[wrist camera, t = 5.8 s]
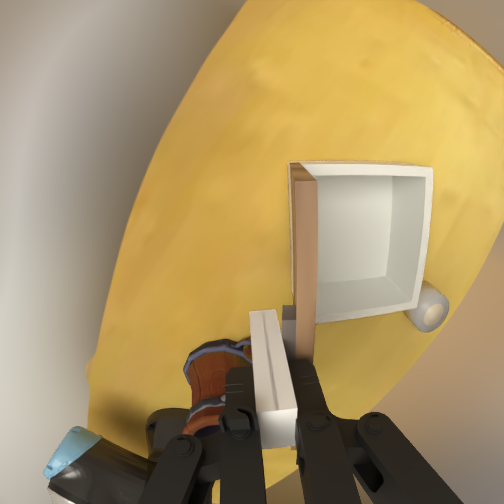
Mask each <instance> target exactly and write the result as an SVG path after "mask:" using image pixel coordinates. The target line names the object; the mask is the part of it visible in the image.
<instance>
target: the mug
mask: <svg viewBox="0 0 504 504" xmlns="http://www.w3.org/2000/svg"><path fill="white" fill-rule="evenodd" d="M243 366H253V360H252V346H251V336H250V337H249V338H247V339H246V340H245V341H241V342H239V343H236V342H233V341H229V340H226V339H223V340H218V341H214V342H208V343H204V344H203V345H202V346H200V347H199V348H197V349H196V350H194V351H193V352H191V353H190V354H189V356H188V358H187V361H186V363H185V365H184V368H183V372H184V374H185V376H186V378H187V381H188V383H189V385H190V386H191V389H192V407H191V408H190V410H189V412H188V415H187V417H186V422H187V424H186V426H185V427H184V430H183V432H182V434H190V435H192V436H195V437H197V438H201V437H205V436H208V435H211V434H213V433H215V432H217V431H218V430H219V429H220V425H219V422H218V418H219V415H220V414H221V413H222V411H223V410H224V409H225V394H226V392H225V390H226V375H227V373H228V371H229V370H230V368H231V367H243Z"/></svg>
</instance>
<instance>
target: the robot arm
mask: <svg viewBox="0 0 504 504" xmlns="http://www.w3.org/2000/svg"><path fill="white" fill-rule="evenodd" d="M249 317H250V331H251V346H252V360H253V366H243V367H231V368H230V370H229V371H228V373H227V375H226V390H225V392H226V394H225V409H224V410H223V411H222V413H221V414H220V415H219V418H218V422H219V425H220V429H219V430H218V431H217V432H215V433H213V434H211V435H208V436H205V437H201V438H197V437H195V436H192V435H190V434H182V432H183V430H184V427H185V426H186V424H187V422H186V417H187V415H188V412H189V410H186V409H177V408H169V409H162V410H158V411H156V412H154V413H152V414H151V415H150V416H149V418H148V421H147V424H146V438H147V445H148V451H149V456H148V459H146V458H144V457H142V456H139V455H137V454H135V453H132V452H130V451H128V450H126V449H124V448H122V447H120V446H118V445H116V444H114V443H112V442H110V441H108V440H106V439H104V438H103V436H101V435H97V434H95V433H93V432H91V431H89V430H87V429H85V428H83V427H80V426H76V427H73V428H72V429H70V431H69V432H68V433H67V435H66V436H65V438H64V439H63V441H62V442H61V444H60V445H59V447H58V448H57V450H56V452H55V453H54V454H53V456H52V458H51V459H50V461H49V463H48V464H47V466H46V468H45V469H44V471H43V474H44V476H46V478H47V479H50V483H49V485H48V488H47V489H48V491H49V493H50V495H51V497H52V499H53V504H212V488H213V485H214V482H215V480H219V479H220V504H267V501H266V490H265V478H264V466H263V457H262V449H270V448H280V447H288V446H295V443H296V448H297V460H296V465H298V466H299V472H300V477H301V483H302V488H303V494H304V500H305V504H362V503H361V500H360V496H359V493H358V490H357V487H356V483H355V480H354V476H353V474H354V475H355V477H356V478H357V480H358V481H359V483H360V484H361V486H362V487H363V489H364V490H365V492H366V493H367V494H368V496H369V497H370V499H371V500H372V502H373V503H374V504H464V503H463V502H462V501H461V500H460V499H459V498H458V497H457V495H456V494H455V493H454V492H453V491H452V490H451V489H450V487H449V486H448V485H447V484H446V483H445V482H444V481H443V480H442V478H441V477H440V476H439V475H438V474H437V473H436V471H435V470H434V469H433V468H432V467H431V466H430V464H429V463H428V462H427V461H426V460H425V459H424V458H423V457H422V455H421V454H420V453H419V452H418V451H417V450H416V448H415V447H414V446H413V445H412V444H411V443H410V441H409V440H408V439H407V438H406V437H405V436H404V435H403V433H402V432H401V431H400V430H399V429H398V428H397V426H396V425H395V424H394V423H393V422H392V421H391V420H390V418H389V417H387V416H386V415H385V414H382V413H379V412H371V413H367V414H365V415H363V416H362V417H361V418H360V419H359V420H353V419H342V418H339V417H336V416H335V415H333V414H332V413H331V412H330V411H329V409H328V407H327V405H326V401H325V398H324V395H323V392H322V389H321V386H320V383H319V379H318V376H317V373H316V370H315V367H314V365H313V364H312V363H311V362H310V361H309V360H308V359H303V360H296V361H288V362H287V358H286V353H285V349H284V344H283V340H282V335H281V331H280V326H279V322H278V317H277V313H276V309H270V310H260V311H249ZM352 472H353V473H352Z"/></svg>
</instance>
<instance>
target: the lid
mask: <svg viewBox="0 0 504 504" xmlns="http://www.w3.org/2000/svg"><path fill="white" fill-rule="evenodd" d="M290 179H291V203H292V235H293V305H283V313H282V340H283V344H284V349H285V353H286V358H287V362H288V361H296V360H303V359H308V360H309V361H310V362H311V363H312V364H313V354H314V340H315V323H316V303H317V274H318V186H317V180H316V179H315V178H314V177H313V176H312V175H311V174H310V173H309V172H308V171H307V170H306V169H305V168H304V167H303V166H302V165H301V164H300V163H299V162H298V163H290ZM291 450H297V448H296V443H295V446H291Z"/></svg>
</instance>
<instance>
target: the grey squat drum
mask: <svg viewBox="0 0 504 504" xmlns="http://www.w3.org/2000/svg"><path fill="white" fill-rule="evenodd" d="M448 311H449V301H448V299H447V298H446V297H445V296H444V295H442V294H441V293H440V292H439V291H438V290H437V289H435V288H434V287H433V286H432V285H431V284H429V283H428V282H427V281H422V285H421V290H420V295H419V299H418V304H417V308H413V309H408V310H403V312H404V313H405V314H406V315H407V317H408V318H409V319H410V320H411V321H412V322H413V323H414V325H415V326H416V327H417V328H418V329H419V330H420V331H421V332H430V331H433V330H434V329H436V328H437V327H438V326H440V325H441V323H442V322H443V321H444V320H445V318H446V316H447V314H448Z"/></svg>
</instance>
